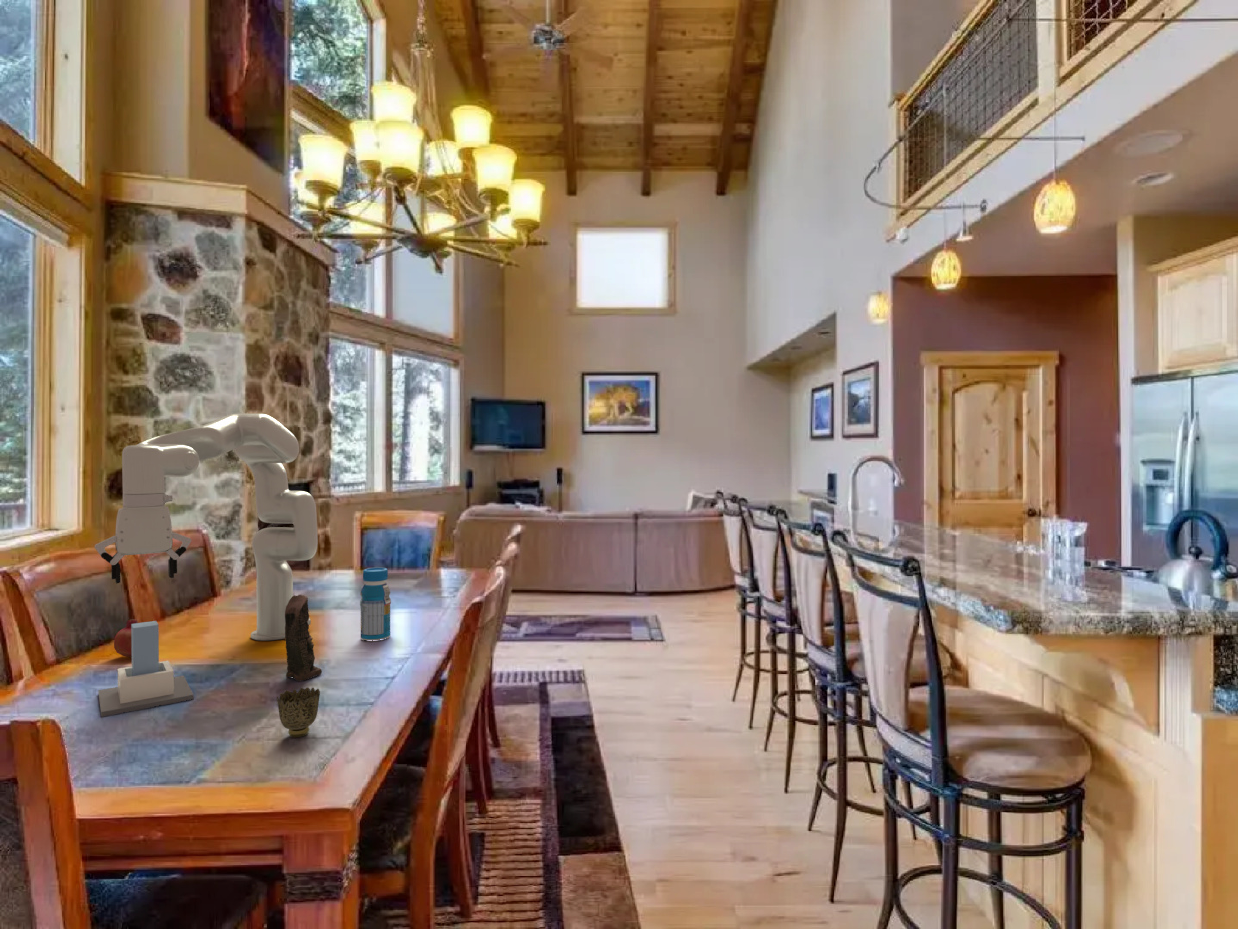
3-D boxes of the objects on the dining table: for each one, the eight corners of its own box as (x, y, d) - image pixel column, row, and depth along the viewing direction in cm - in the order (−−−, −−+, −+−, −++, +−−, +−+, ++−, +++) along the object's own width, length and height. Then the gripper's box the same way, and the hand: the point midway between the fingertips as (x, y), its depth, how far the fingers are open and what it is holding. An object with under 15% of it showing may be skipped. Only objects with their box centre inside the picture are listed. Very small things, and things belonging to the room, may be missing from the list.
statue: (323, 674, 165) (322, 592, 165) (300, 683, 159) (300, 598, 158) (300, 671, 168) (300, 590, 167) (277, 680, 161) (277, 596, 160)
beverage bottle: (366, 644, 191) (366, 573, 191) (355, 637, 198) (355, 569, 197) (395, 638, 197) (395, 569, 197) (384, 632, 203) (383, 565, 203)
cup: (286, 727, 134) (286, 687, 134) (325, 726, 134) (325, 686, 134) (270, 743, 126) (270, 701, 126) (311, 742, 127) (311, 699, 127)
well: (183, 679, 161) (183, 654, 161) (193, 699, 148) (193, 671, 148) (98, 694, 151) (98, 667, 151) (101, 717, 138) (101, 687, 138)
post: (156, 687, 153) (155, 620, 153) (159, 693, 149) (158, 624, 149) (131, 692, 150) (131, 624, 150) (133, 697, 147) (133, 628, 146)
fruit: (131, 662, 174) (131, 623, 173) (105, 660, 175) (105, 622, 175) (159, 653, 182) (158, 616, 181) (133, 651, 183) (133, 614, 183)
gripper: (188, 498, 157) (189, 572, 158) (93, 502, 146) (94, 581, 147) (192, 501, 151) (193, 577, 152) (94, 504, 141) (95, 587, 141)
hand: (145, 579), depth 149 cm, fingers open, 9 cm apart
